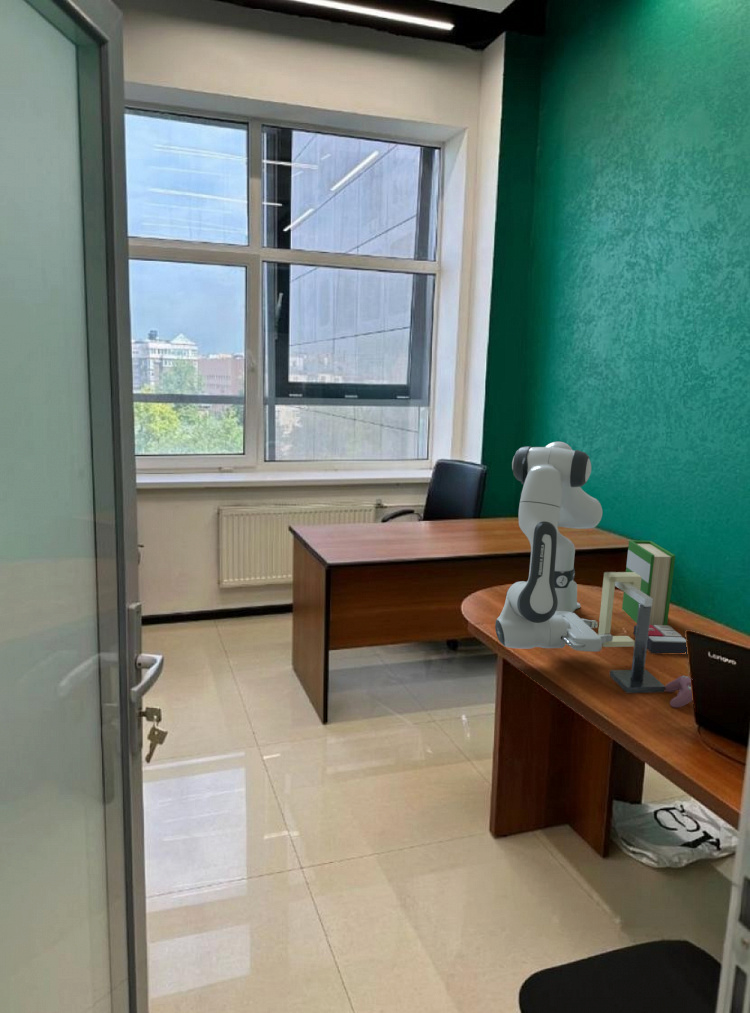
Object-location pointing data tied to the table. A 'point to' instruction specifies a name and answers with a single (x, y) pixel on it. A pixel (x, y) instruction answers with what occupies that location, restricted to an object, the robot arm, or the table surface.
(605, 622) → the c-shaped bracket
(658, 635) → the calculator
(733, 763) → the table surface
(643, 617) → the hook stand
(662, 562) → the hardback book
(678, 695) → the video game controller
